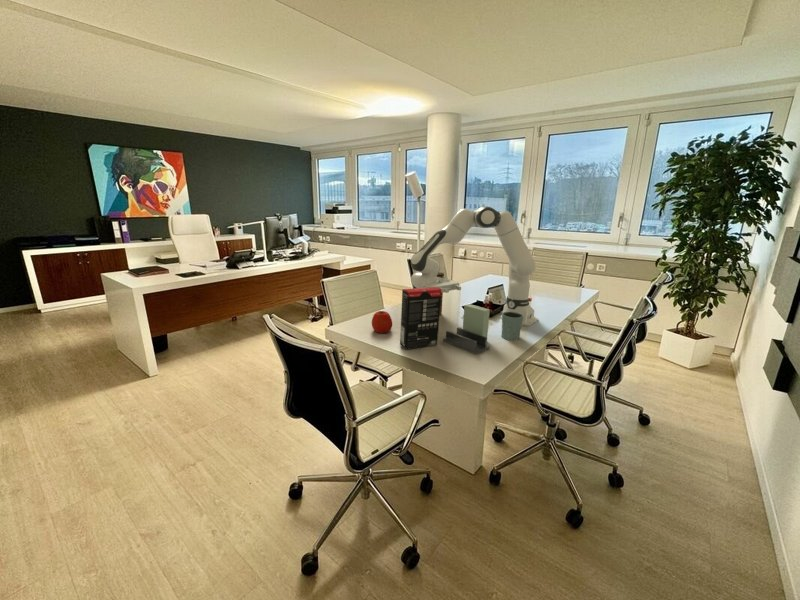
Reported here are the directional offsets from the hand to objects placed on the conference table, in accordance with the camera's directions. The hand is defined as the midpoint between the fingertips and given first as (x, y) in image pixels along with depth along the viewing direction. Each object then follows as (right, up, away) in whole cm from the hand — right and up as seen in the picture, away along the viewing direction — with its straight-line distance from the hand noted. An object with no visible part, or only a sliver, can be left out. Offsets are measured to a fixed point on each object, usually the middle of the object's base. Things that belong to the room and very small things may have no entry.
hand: (454, 289), depth 174 cm
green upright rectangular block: (+9, -24, -5) cm, 26 cm away
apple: (-37, -21, +2) cm, 43 cm away
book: (-11, -14, +33) cm, 37 cm away
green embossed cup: (+28, -24, -2) cm, 37 cm away
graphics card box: (-19, -27, -15) cm, 36 cm away
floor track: (+3, -26, -14) cm, 30 cm away
